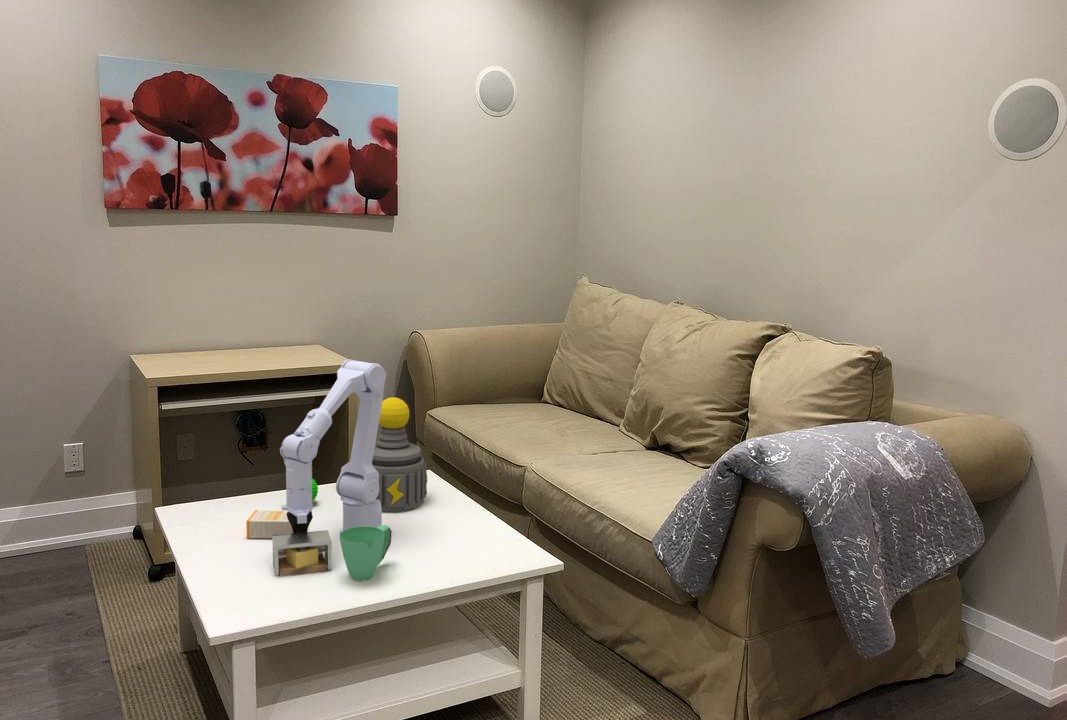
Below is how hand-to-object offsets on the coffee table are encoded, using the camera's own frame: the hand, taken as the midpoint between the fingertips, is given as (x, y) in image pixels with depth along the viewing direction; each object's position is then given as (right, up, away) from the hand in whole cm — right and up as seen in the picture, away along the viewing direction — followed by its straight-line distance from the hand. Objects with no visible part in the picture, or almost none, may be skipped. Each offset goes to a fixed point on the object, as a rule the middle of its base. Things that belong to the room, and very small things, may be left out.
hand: (299, 542), depth 206 cm
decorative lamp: (+15, +2, +42) cm, 45 cm away
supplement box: (-17, +2, +16) cm, 23 cm away
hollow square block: (+2, -3, -5) cm, 6 cm away
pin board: (0, -4, 0) cm, 4 cm away
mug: (+17, -6, -6) cm, 19 cm away
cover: (+2, -5, -4) cm, 6 cm away
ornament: (-9, +2, +38) cm, 39 cm away
